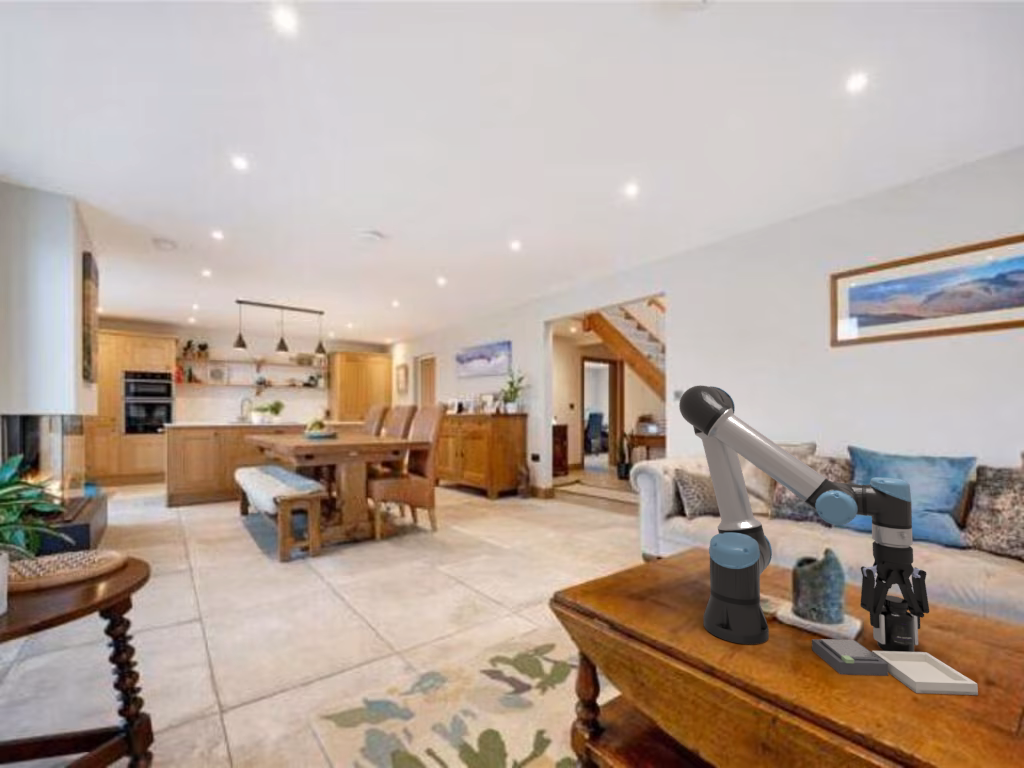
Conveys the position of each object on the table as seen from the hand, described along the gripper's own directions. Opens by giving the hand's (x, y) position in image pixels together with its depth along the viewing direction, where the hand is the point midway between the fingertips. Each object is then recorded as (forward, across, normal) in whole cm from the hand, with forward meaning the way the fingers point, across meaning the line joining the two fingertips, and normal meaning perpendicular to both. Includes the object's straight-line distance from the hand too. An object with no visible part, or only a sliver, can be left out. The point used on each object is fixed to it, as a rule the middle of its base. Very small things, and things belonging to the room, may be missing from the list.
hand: (895, 641), depth 110 cm
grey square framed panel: (+2, -15, -6) cm, 16 cm away
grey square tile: (0, -15, -6) cm, 16 cm away
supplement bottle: (+2, 0, 0) cm, 2 cm away
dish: (+2, -3, -11) cm, 12 cm away
